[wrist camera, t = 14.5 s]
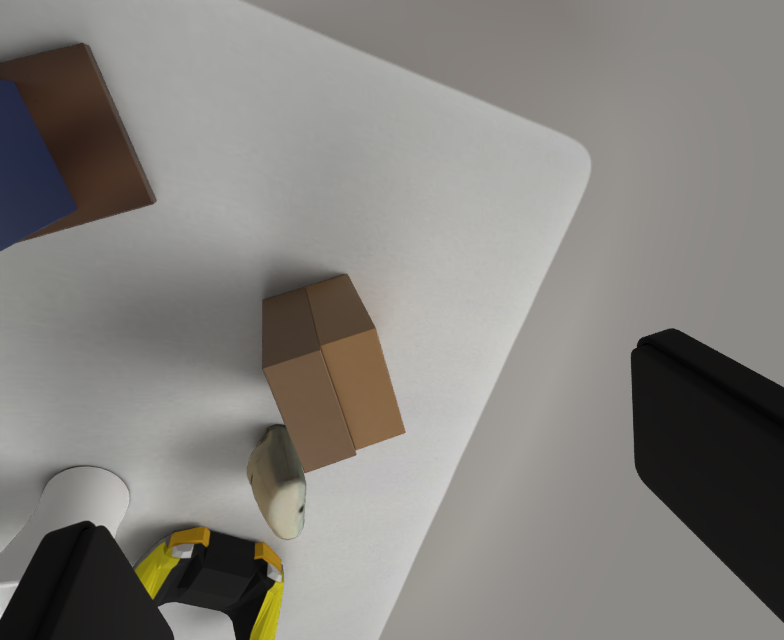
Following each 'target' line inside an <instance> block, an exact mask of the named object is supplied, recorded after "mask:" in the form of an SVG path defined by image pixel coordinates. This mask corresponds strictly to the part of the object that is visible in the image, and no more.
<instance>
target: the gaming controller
mask: <svg viewBox="0 0 784 640" xmlns="http://www.w3.org/2000/svg"><path fill="white" fill-rule="evenodd" d="M133 569H134V571H135V573H136V574H137V576H138V577H139V579H140V580H141V582H142V584H143V585H144V587H145V588H146V590H147V592H148V593H149V595H150V596H151V598H152V599H153V601H154V603H155V604H156V606H157V607H158V606H161V605H163V604H165V603H170V602H178V603H183V604H188V605H193V606H198V607H203V608H208V609H213V610H217V611H221V612H223V613H225V614H227V615H228V616H229V617H230V619H231V620H232V622H233V627H234V632H235V637H236V640H274V639H275V636H276V630H277V624H278V619H279V613H280V607H281V601H282V594H283V587H284V572H283V565H282V564H281V559H280V558H279V557H278V556H277V554H276V553H275V552H274V551H273V550H272V549H271V548H270V547H269V546H268V545H267V544H265V543H264V542H260V543H254V542H251V541H247V540H243V539H239V538H235V537H232V536H228V535H224V534H220V533H216V532H213V531H209V530H208V529H207V528H206V527H197V528H193V529H188V530H184V531H178V532H174V533H172V534H170V535H169V536H166V537H164V538H163V539H161V540H160V541H159V542H158V543H157V544H156V545H154V546H153V547H152V548H151V549H150V550H149V551H148V552H147V553H146V554H145V555H144V556H143V557H142V558H140V560H139V561H138V562H137V563H136V565H135V566H134V567H133Z"/></svg>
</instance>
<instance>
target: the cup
mask: <svg viewBox="0 0 784 640" xmlns="http://www.w3.org/2000/svg"><path fill="white" fill-rule="evenodd" d="M129 501H130V499H129V491H128V489H127V487H126V485H125V484H124V482H123V481H122V480H121V479H120V478H119V477H117V476H116V475H114V474H113V473H111V472H109V471H107V470H104V469H101V468H96V467H89V466H88V467H75V468H71V469H67V470H65V471H63V472H61V473H59V474H57V475H55V476H54V477H53V478H52V479H51V480H50V481H49V482H48V483H47V485H46V487H45V488H44V490H43V493H42V495H41V498H40V500H39V503H38V505H37V508H36V510H35V512H34V513H33V515H32V516H31V517H30V519H29V520H28V522H27V523H26V525H25V526H24V528H23V529H22V530H21V531H20V532H19V533H18V535H17V536H16V537H15V538H14V539H13V540H12V541H11V542H10V543H9V545H8V546H7V547H6V548H5V549H4V550H3V551H2V552H1V553H0V619H1V617H2V615H3V613H4V611H5V609H6V607H7V605H8V603H9V601H10V599H11V597H12V596H13V594H14V592H15V590H16V588H17V586H18V584H19V582H20V580H21V578H22V576H23V574H24V573H25V571H26V569H27V567H28V565H29V563H30V561H31V559H32V557H33V555H34V553H35V552H36V550H37V548H38V546H39V544H40V542H41V540H42V539H43V537H44V536H45V535H46V534H47V533H49V532H51V531H54V530H57V529H60V528H63V527H67V526H70V525H73V524H76V523H79V522H82V521H91V522H92V523H94V524H95V526H99V525H103V526H105V527H106V528H107V529H108V530H109V531H110V533H111V535H112V536H113V538H114V539H115V535H116V531H117V528H118V526H119V524H120V522H121V520H122V518H123V516H124V514H125V512H126V510H127V508H128V504H129Z"/></svg>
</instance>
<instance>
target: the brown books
mask: <svg viewBox="0 0 784 640" xmlns="http://www.w3.org/2000/svg"><path fill="white" fill-rule="evenodd" d="M262 369H263V372H264V374H265V377H266V379H267V382H268V384H269V386H270V389H271V391H272V394H273V396H274V399H275V401H276V404H277V406H278V409H279V411H280V414H281V416H282V419H283V421H284V424H285V426H286V429H287V431H288V433H289V436H290V438H291V441H292V443H293V446H294V448H295V451H296V453H297V456H298V458H299V461H300V463H301V466H302V468H303V471H304V473H307V472H310V471H313V470H316V469H319V468H321V467H324V466H327V465H330V464H333V463H336V462H338V461H341V460H344V459H347V458H350V457H353V456H355V455H356V451H355V450H358V449H361V448H364V447H367V446H370V445H372V444H375V443H378V442H381V441H384V440H387V439H389V438H392V437H395V436H398V435H401V434H404V433H405V428H404V425H403V421H402V418H401V414H400V411H399V407H398V404H397V400H396V397H395V393H394V390H393V386H392V383H391V379H390V376H389V372H388V369H387V365H386V362H385V358H384V355H383V351H382V348H381V344H380V341H379V337H378V334H377V331H376V328H375V326H374V324H373V322H372V320H371V318H370V316H369V314H368V312H367V310H366V308H365V306H364V305H363V303H362V301H361V299H360V297H359V295H358V293H357V291H356V289H355V287H354V285H353V284H352V282H351V280H350V278H349V276H348V274H345V275H342V276H339V277H335V278H332V279H329V280H326V281H323V282H319V283H316V284H313V285H310V286H306V288H305V287H303V288H300V289H297V290H294V291H290V292H287V293H284V294H281V295H278V296H274V297H271V298H268V299H265V300H263V301H262Z"/></svg>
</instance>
